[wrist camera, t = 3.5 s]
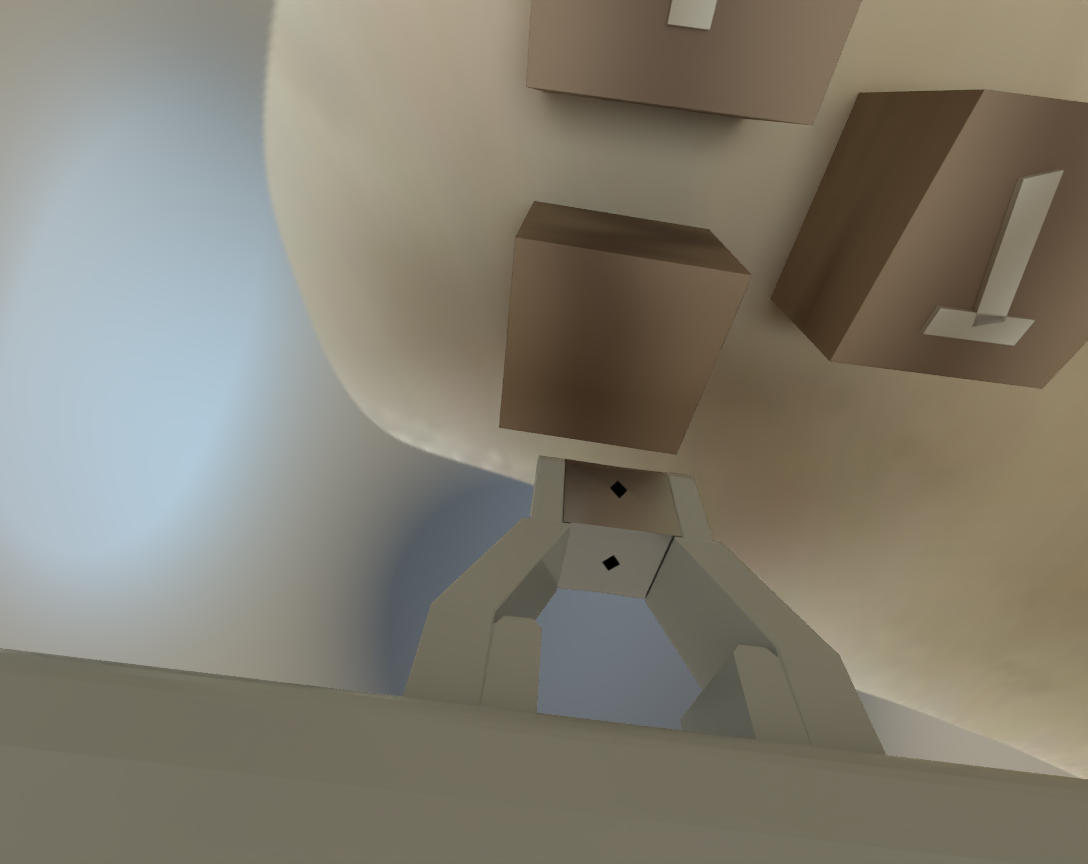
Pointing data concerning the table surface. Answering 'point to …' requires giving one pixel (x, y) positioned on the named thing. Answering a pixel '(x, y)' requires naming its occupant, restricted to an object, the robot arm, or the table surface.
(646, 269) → the plain block
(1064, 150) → the numbered block 7
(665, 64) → the numbered block 1
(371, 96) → the table surface
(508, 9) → the table surface
